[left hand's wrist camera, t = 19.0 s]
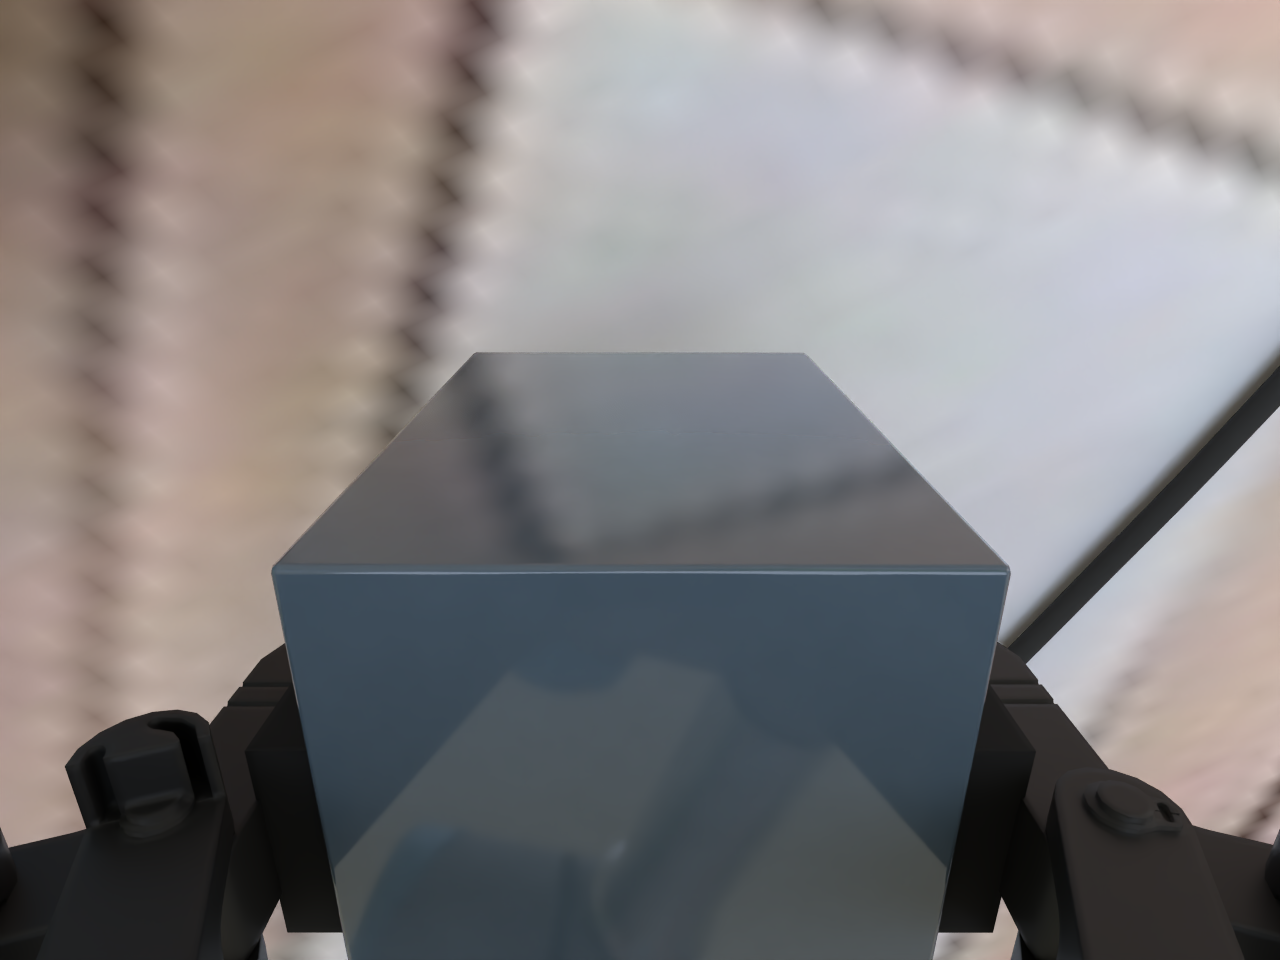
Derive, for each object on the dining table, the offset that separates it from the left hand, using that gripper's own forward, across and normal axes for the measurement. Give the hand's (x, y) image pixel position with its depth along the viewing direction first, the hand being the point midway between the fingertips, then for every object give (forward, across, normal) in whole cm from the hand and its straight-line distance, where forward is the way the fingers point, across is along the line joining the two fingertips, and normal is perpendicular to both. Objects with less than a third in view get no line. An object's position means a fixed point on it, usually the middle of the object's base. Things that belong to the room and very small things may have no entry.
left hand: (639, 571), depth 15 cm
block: (+3, 0, 0) cm, 3 cm away
